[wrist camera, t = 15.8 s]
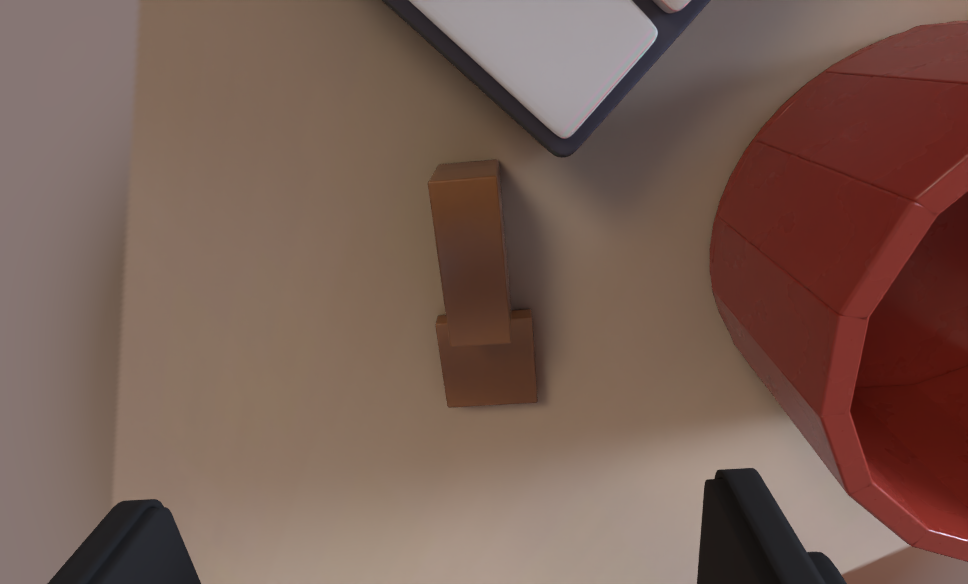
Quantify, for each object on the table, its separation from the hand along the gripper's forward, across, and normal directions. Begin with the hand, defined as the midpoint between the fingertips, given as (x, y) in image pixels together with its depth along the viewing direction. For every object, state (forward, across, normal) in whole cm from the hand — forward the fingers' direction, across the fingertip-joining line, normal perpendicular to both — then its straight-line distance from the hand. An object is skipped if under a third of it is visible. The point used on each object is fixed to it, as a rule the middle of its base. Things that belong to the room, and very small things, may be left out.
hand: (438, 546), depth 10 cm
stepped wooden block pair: (+13, 0, +1) cm, 13 cm away
